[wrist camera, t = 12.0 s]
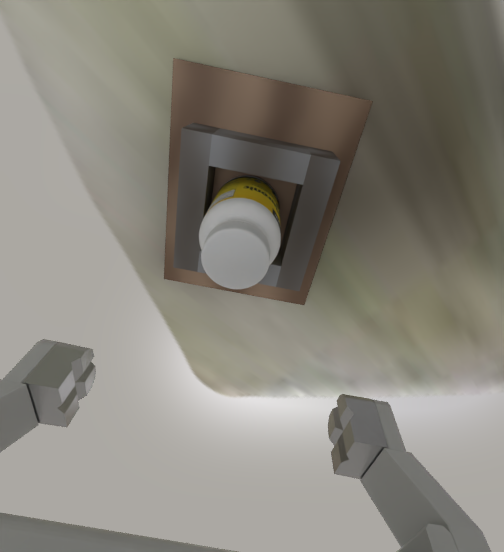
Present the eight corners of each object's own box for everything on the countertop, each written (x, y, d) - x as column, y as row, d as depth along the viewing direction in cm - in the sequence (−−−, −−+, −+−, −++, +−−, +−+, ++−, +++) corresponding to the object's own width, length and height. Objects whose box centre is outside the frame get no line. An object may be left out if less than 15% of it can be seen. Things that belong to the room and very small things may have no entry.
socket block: (369, 100, 23) (388, 103, 19) (303, 299, 32) (307, 328, 28) (177, 59, 22) (156, 53, 18) (167, 273, 32) (152, 299, 28)
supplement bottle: (292, 213, 26) (300, 272, 18) (241, 247, 28) (227, 314, 20) (254, 159, 24) (243, 197, 16) (202, 199, 26) (167, 251, 18)
